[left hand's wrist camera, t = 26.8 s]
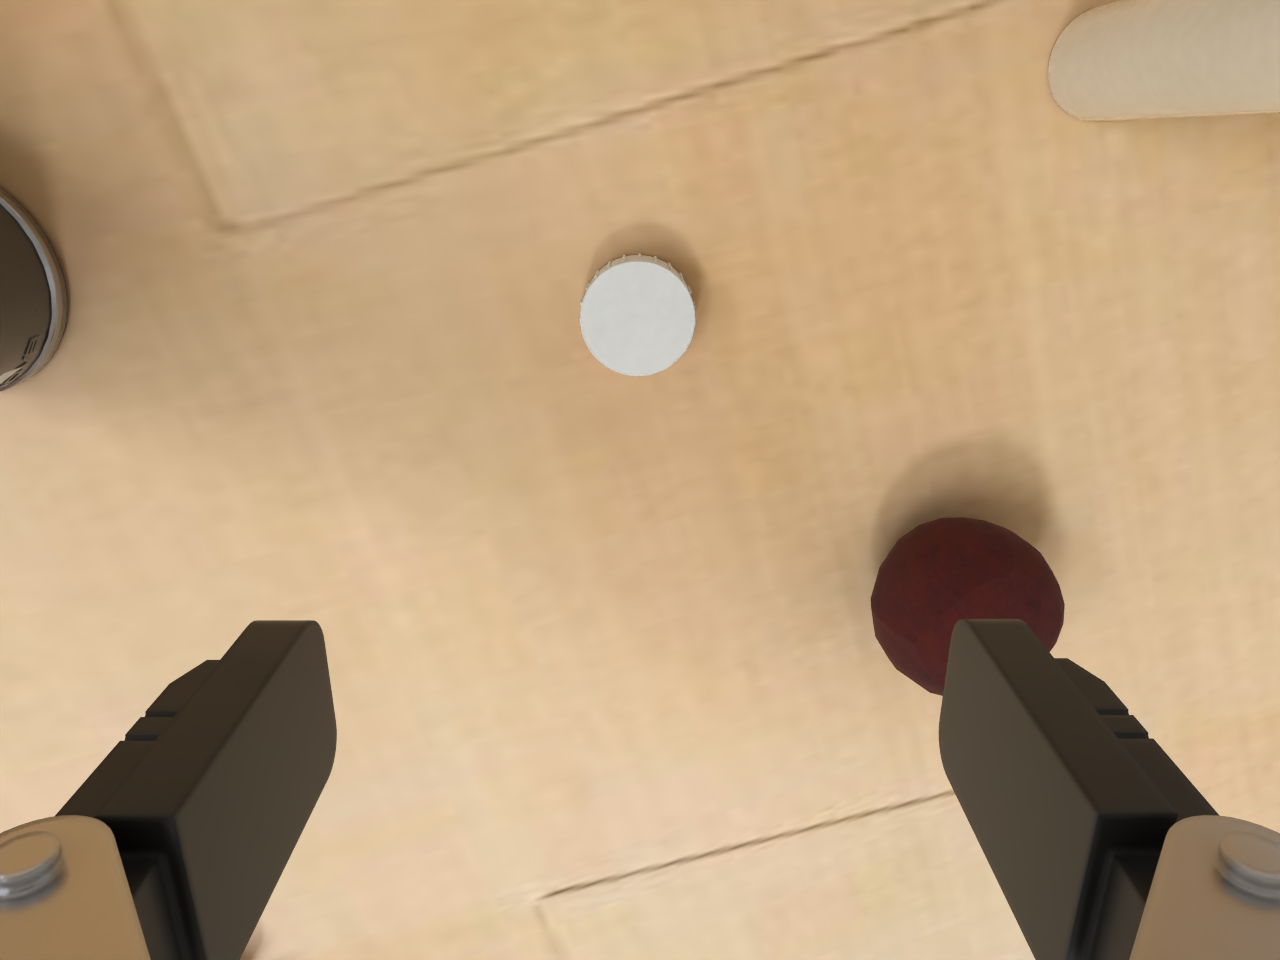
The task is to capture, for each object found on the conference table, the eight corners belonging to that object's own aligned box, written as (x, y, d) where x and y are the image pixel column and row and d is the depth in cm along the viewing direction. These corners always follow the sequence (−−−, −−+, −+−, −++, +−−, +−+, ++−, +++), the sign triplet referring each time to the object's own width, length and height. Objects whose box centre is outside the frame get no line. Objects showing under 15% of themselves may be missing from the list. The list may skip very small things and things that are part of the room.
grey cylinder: (1108, -21, 33) (1545, -172, 17) (1176, 57, 34) (1653, -18, 18) (1025, 70, 34) (1364, 9, 18) (1093, 143, 35) (1473, 145, 19)
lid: (570, 351, 38) (566, 363, 36) (594, 240, 36) (592, 245, 35) (678, 377, 38) (680, 390, 37) (707, 268, 37) (710, 275, 35)
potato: (1052, 567, 41) (1129, 648, 35) (918, 669, 43) (968, 764, 37) (953, 459, 40) (1016, 523, 33) (819, 571, 41) (853, 652, 35)
